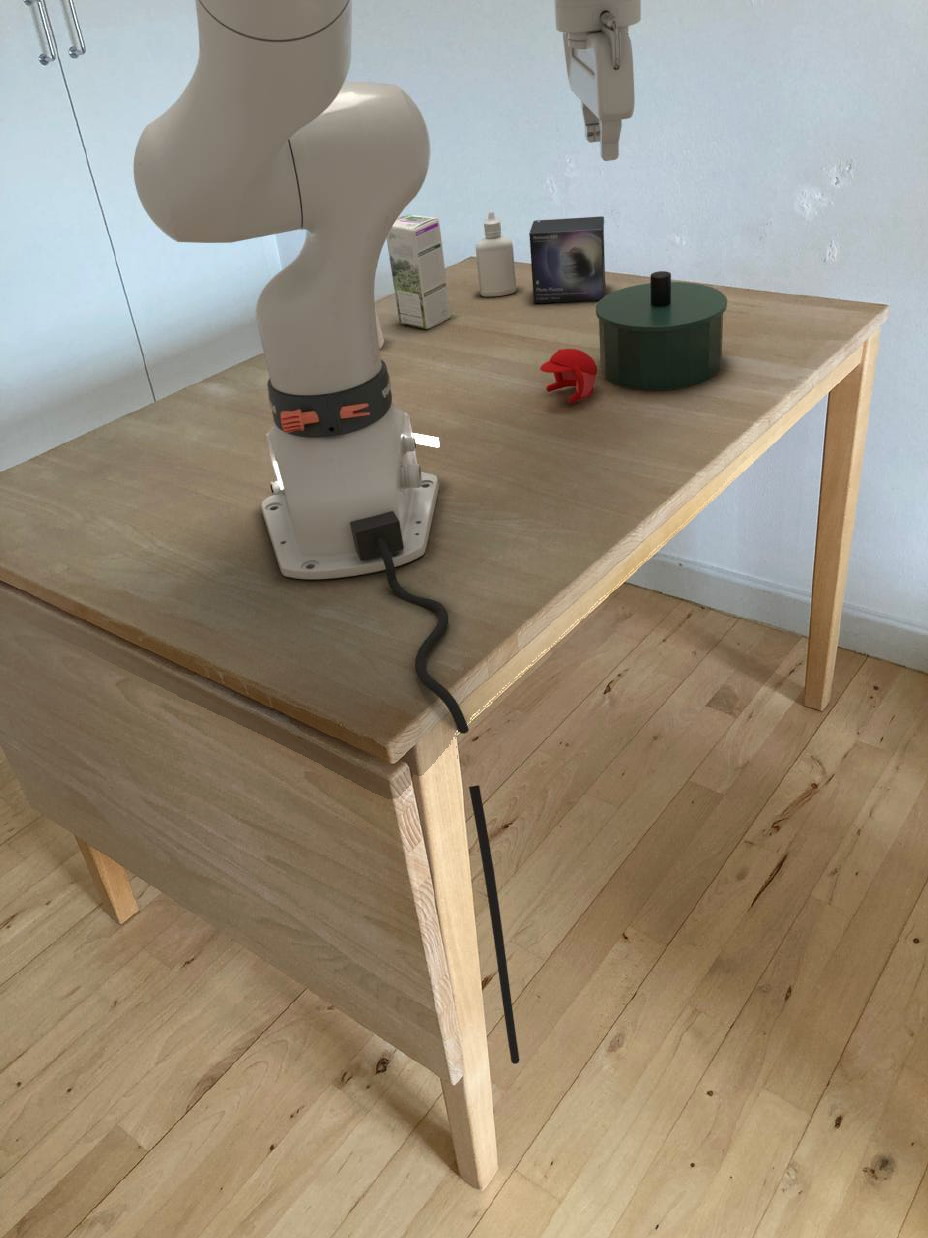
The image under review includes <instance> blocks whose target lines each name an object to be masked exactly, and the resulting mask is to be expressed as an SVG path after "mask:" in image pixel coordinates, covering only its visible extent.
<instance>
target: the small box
mask: <svg viewBox="0 0 928 1238" xmlns="http://www.w3.org/2000/svg"><path fill="white" fill-rule="evenodd" d="M528 236H529V249H530V266H531V283H532V297H533V299H532V300H533V304H545V303H546V304H547V303H567V302H568V303H570V302H593V301H596V302H599V301H600V300H601V299H602V298H603V297H605V296H606V295H605V294H606V287H607V283H606V282H607V281H606V265H605V263H606V261H605V217H604V216H586V217H585V216H584V217H572V218H570V217H568V218H554V219H553V218H552V219H538V220H537V219H536V220H533V221H532V223H531V227H530V230H529V233H528Z"/></svg>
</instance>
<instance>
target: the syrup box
mask: <svg viewBox="0 0 928 1238" xmlns="http://www.w3.org/2000/svg"><path fill="white" fill-rule="evenodd" d="M440 225H441V224H440V219H439V217H436V216H427V215H418V214H406V215H403V216H399V217H398V218H397V220H396V221H395V223H394V224H393V226H392V228H391V230H390V232H389V234H388V236H387V237H386V244H387V251H388V257H389V264H390V270H391V271H390V272H391V277H392V285H393V290H394V296H395V302H396V309H397V316H398V321H399V324H400V325H403V326H409V327H415V328H419V329H424V330H429V329H431V328H433V327H434V328H435V327H436V326H438V325H439V324H442V323H443V322H445V321H447V320H449V319H451V318H452V312H451V305H450V297H449V291H448V282H447V273H446V267H445V265H446V264H445V259H444V258H445V257H444V250H443V242H442V241H443V240H442V233H441V226H440Z"/></svg>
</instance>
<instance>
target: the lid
mask: <svg viewBox="0 0 928 1238" xmlns="http://www.w3.org/2000/svg"><path fill="white" fill-rule="evenodd" d="M649 281H650V282H649V283H641V284H635V285H632V286H627V287H624V288H620V289H618V290H615V291H612V292H610V293H608V294H606V295H604V297H603V298H602V299H601V300H599V301H597V303H596V305H595V316H596V318H597V319H598V321H599V320H601V321H602V322H603V323H605V324H607V325H610V326H612V327H616V328H620V329H625V330H632V331H643V332H659V331H672V330H680V329H686V328H690V327H695V326H698V325H702V324H705V323H707V322H710V321H712V320H714V319H716V318H718V317H719V316H720V315H722V314H723V315H724V313H725V312H726V310H727V308H728V298H727V296H726V295H725V293H724V292H722V291H720V290H718V289H717V288H714V287H711V286H709V285H705V284H699V283H694V282H682V281H681V282H680V281H672V273H671V272H669V271H667V270H666V271H665V270H663V271H662V270H660V271H654V272H652V273H650V280H649Z"/></svg>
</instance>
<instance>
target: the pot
mask: <svg viewBox="0 0 928 1238" xmlns="http://www.w3.org/2000/svg"><path fill="white" fill-rule="evenodd" d="M598 328H599V329H598V332H599V333H598V334H599V360H600V362H599V363H600V369H601V373H602V375H603V377H604V378H605V379H606V380H607V381H608V382H610V383H613V384H615V385H616V386H619V387H623V388H627V389H631V390H638V391H640V390H641V391H651V392H652V391H655V392H656V391H657V392H658V391H671V390H679V389H684V388H689V387H693V386H696V385H699V384H701V383H704V382H706V381H708V380H710V379H712V378H713V377H714V376H716V374H718V372H719V371H720V369H721V366H722V364H721V362H722V358H723V332H724V313H723V314H722V315H720V316H719V317H718V318H716V319H714V320H712V321H710V322H707V323H705V324H702V325H698V326H695V327H690V328H686V329H680V330H672V331H659V332H643V331H632V330H625V329H620V328H616V327H612V326H610V325H607V324H605V323H603V322H602V321H601V320H599V319H598Z"/></svg>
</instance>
